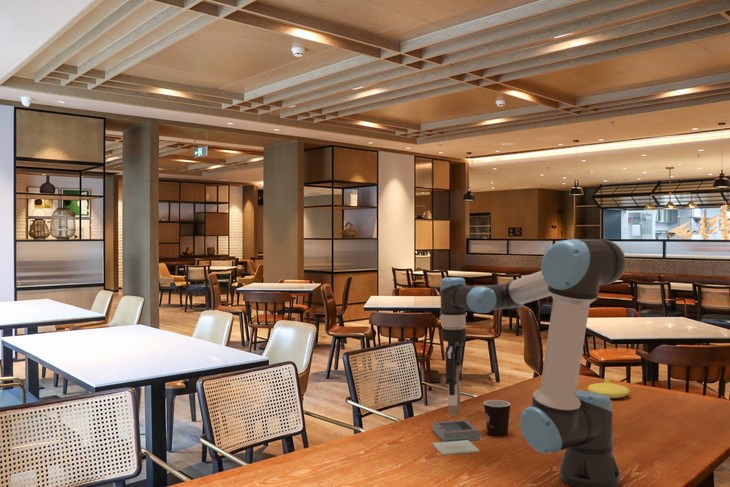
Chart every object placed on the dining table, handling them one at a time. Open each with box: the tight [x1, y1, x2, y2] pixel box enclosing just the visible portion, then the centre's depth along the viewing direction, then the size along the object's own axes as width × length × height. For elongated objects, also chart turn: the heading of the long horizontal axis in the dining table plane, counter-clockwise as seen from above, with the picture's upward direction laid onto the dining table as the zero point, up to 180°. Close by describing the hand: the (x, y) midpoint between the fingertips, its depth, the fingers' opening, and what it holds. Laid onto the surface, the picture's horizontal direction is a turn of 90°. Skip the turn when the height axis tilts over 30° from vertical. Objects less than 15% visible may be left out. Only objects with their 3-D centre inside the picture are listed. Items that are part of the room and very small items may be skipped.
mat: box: [431, 440, 481, 456], centre depth 190 cm, size 10×12×1 cm
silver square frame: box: [432, 419, 481, 442], centre depth 202 cm, size 12×12×3 cm
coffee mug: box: [483, 399, 511, 438], centre depth 205 cm, size 12×9×10 cm
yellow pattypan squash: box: [587, 377, 630, 399], centre depth 249 cm, size 16×16×7 cm
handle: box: [444, 364, 462, 417], centre depth 191 cm, size 5×6×15 cm
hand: (454, 403), depth 191 cm, fingers closed on handle, 4 cm apart
